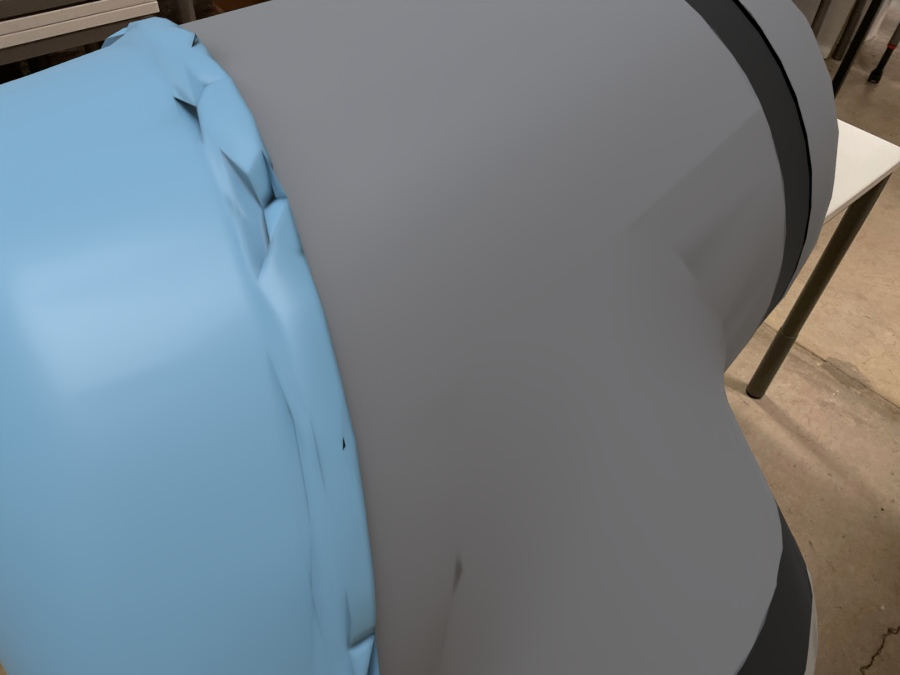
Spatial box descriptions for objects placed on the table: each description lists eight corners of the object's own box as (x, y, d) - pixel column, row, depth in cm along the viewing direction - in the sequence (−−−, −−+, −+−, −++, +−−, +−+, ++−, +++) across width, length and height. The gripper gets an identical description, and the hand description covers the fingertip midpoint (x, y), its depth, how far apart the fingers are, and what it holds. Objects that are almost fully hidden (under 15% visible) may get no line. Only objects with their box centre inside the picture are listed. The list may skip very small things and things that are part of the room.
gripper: (172, 320, 59) (405, 246, 68) (219, 424, 51) (473, 325, 61) (151, 254, 53) (406, 184, 63) (199, 358, 46) (481, 261, 55)
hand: (439, 253), depth 62 cm, fingers closed
